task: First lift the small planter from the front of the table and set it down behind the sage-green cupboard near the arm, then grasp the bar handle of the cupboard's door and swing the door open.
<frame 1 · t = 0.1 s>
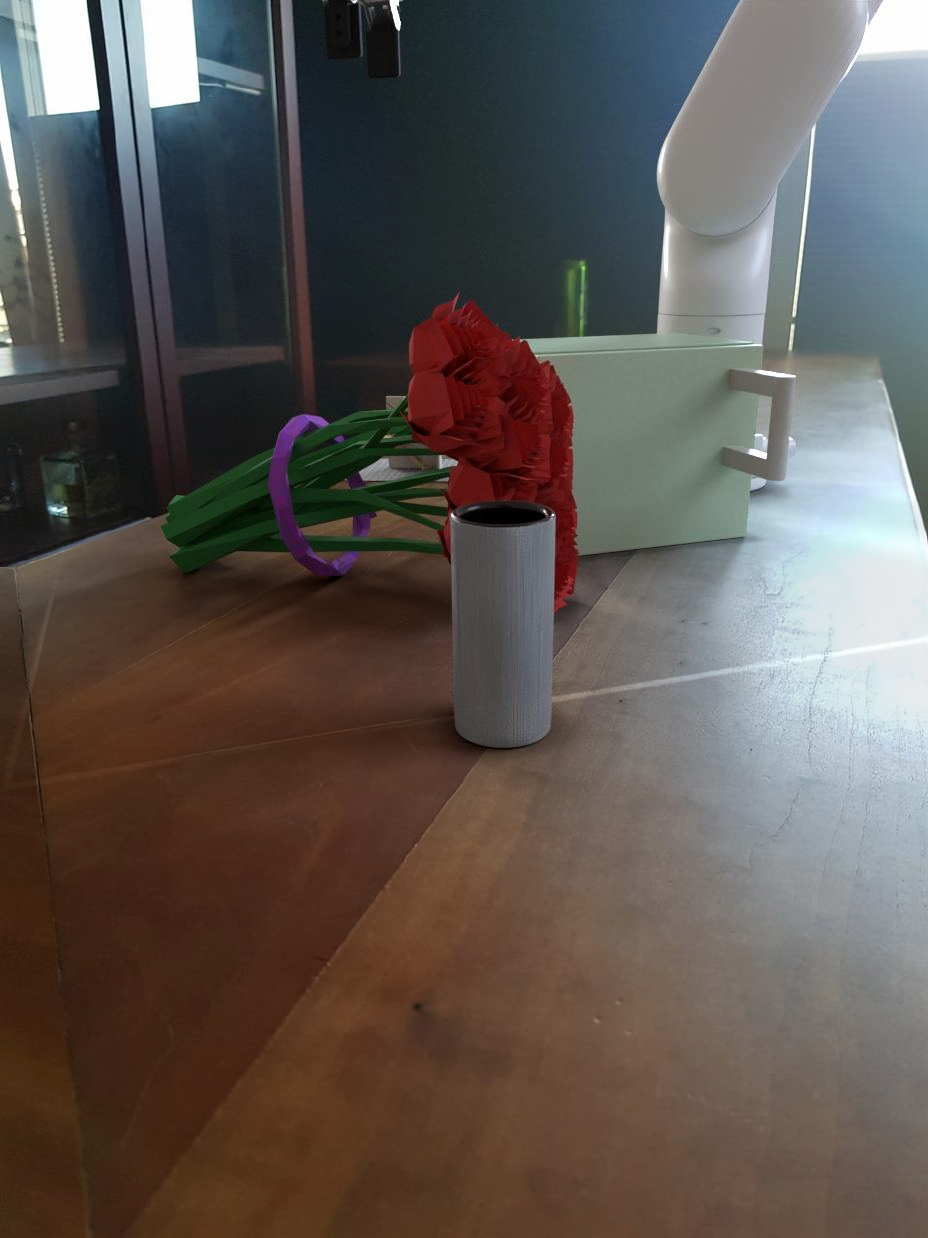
hand: (365, 68, 88), 37 cm above the worktop, tool pointing down, fingers open, 9 cm apart
door: (668, 459, 66), point 7 cm above the worktop, hinge at 0.0°, touching bouquet
architectural model: (414, 471, 100), on the worktop
planter: (502, 730, 44), on the worktop
cupboard: (604, 528, 77), on the worktop
bouquet: (356, 585, 65), on the worktop, touching door
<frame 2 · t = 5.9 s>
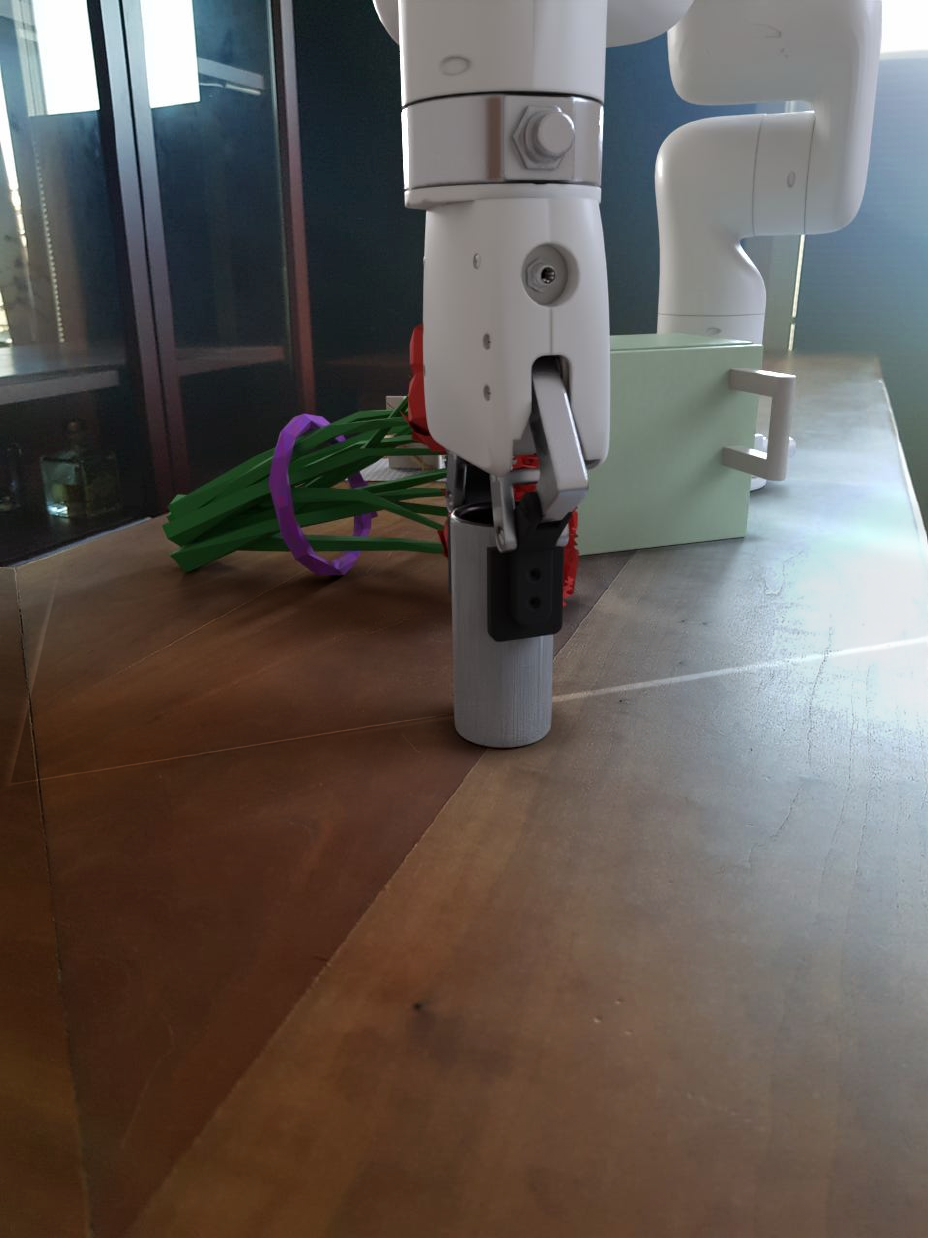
hand: (502, 610, 42), 6 cm above the worktop, tool pointing down, fingers closed on planter, 4 cm apart
door: (668, 459, 66), point 7 cm above the worktop, hinge at 0.0°
planter: (502, 730, 44), on the worktop, touching gripper
bouquet: (357, 585, 65), on the worktop
everything else where it was.
when the fingers open (6 cm above the worktop, at t = 17.9 s): planter stays where it is, on the worktop.
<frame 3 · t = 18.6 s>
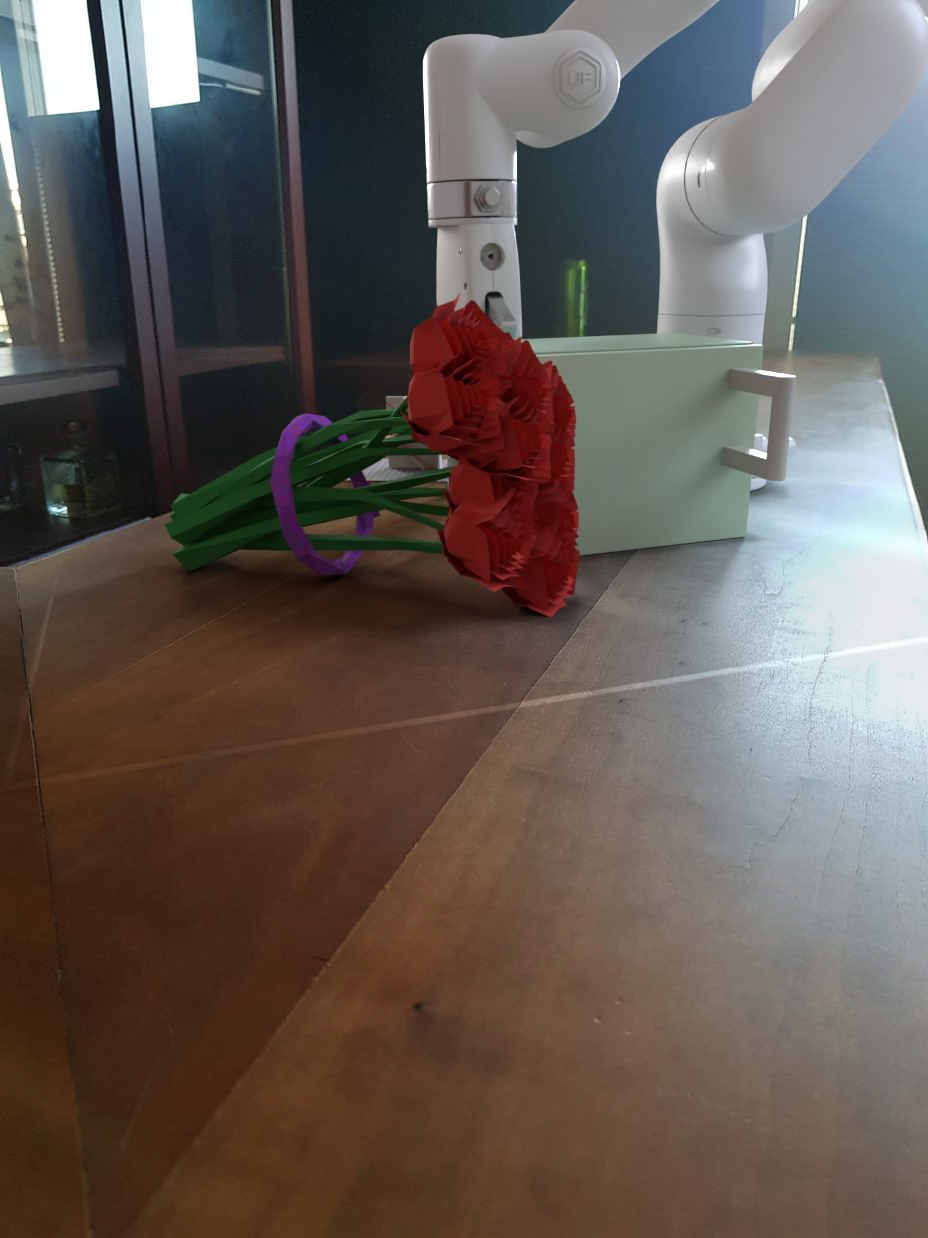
hand: (476, 413, 86), 8 cm above the worktop, tool pointing down, fingers open, 9 cm apart
door: (668, 459, 66), point 7 cm above the worktop, hinge at 0.0°, touching bouquet
planter: (472, 497, 88), on the worktop
bouquet: (358, 584, 65), on the worktop, touching door
everything else where it was.
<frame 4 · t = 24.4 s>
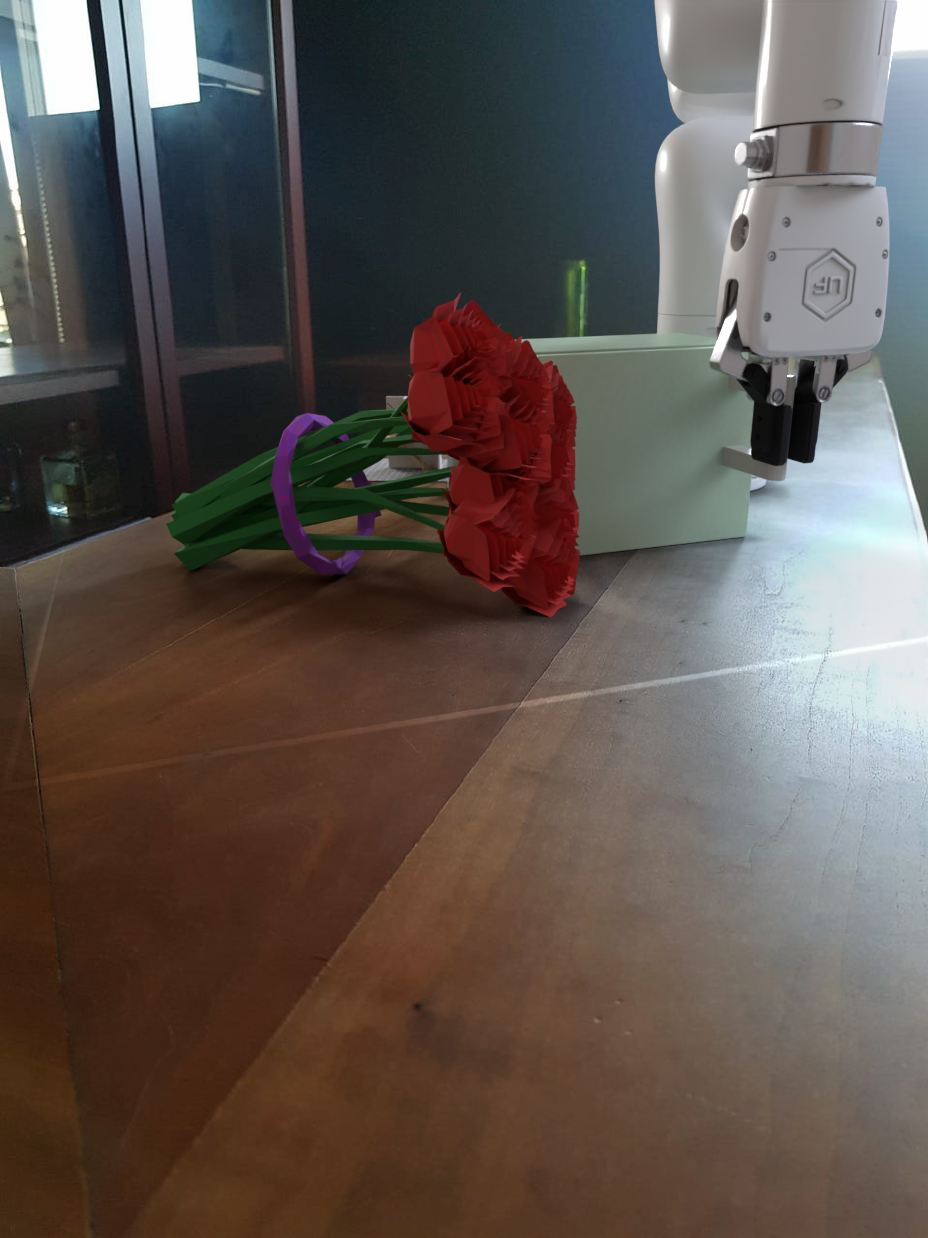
hand: (781, 459, 65), 7 cm above the worktop, tool pointing down, fingers closed
door: (668, 459, 66), point 7 cm above the worktop, hinge at 0.0°, touching bouquet, gripper
everything else where it was.
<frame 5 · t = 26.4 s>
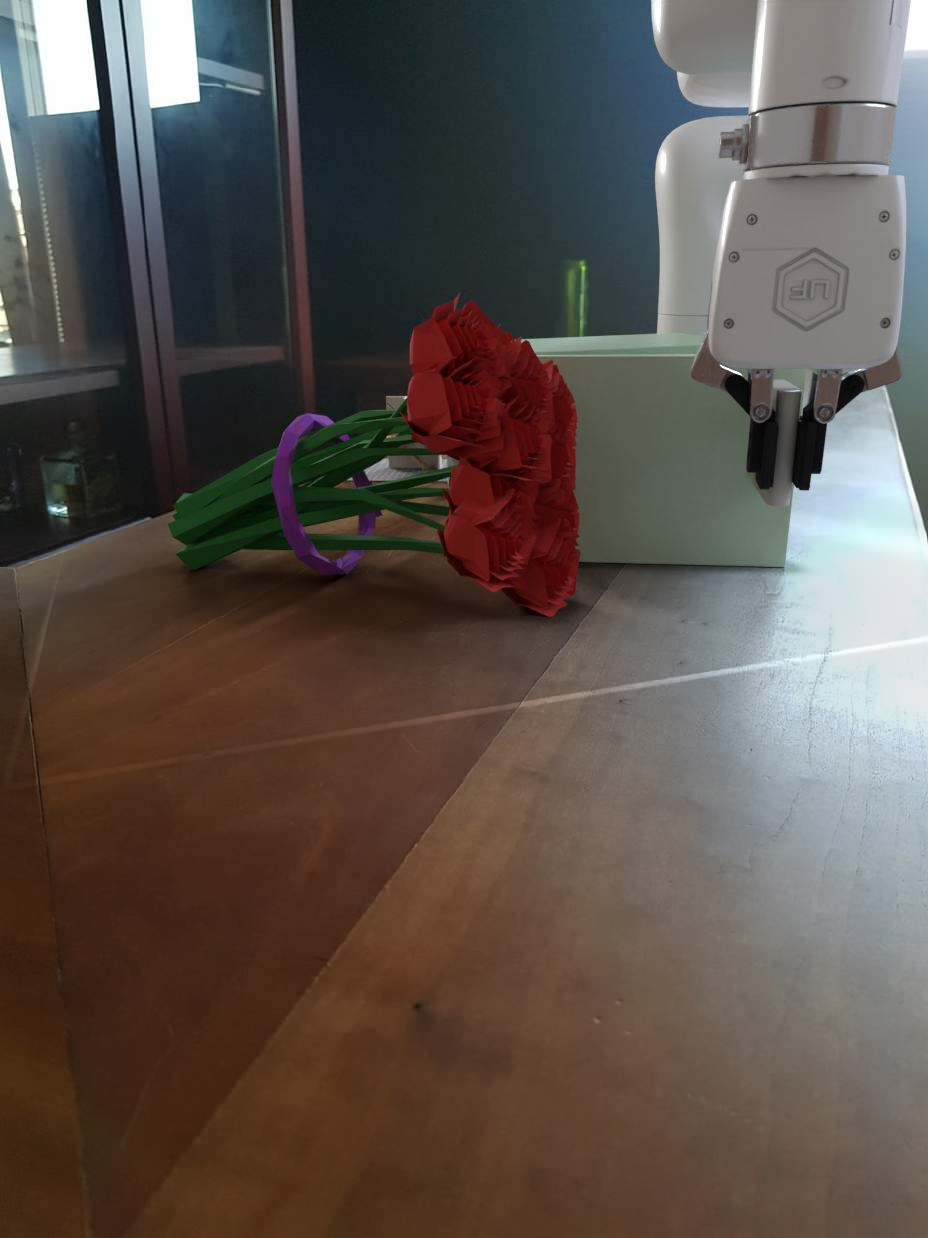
hand: (781, 483, 58), 7 cm above the worktop, tool pointing down, fingers closed
door: (665, 471, 62), point 7 cm above the worktop, hinge at 25.9°, touching bouquet, gripper
everything else where it was.
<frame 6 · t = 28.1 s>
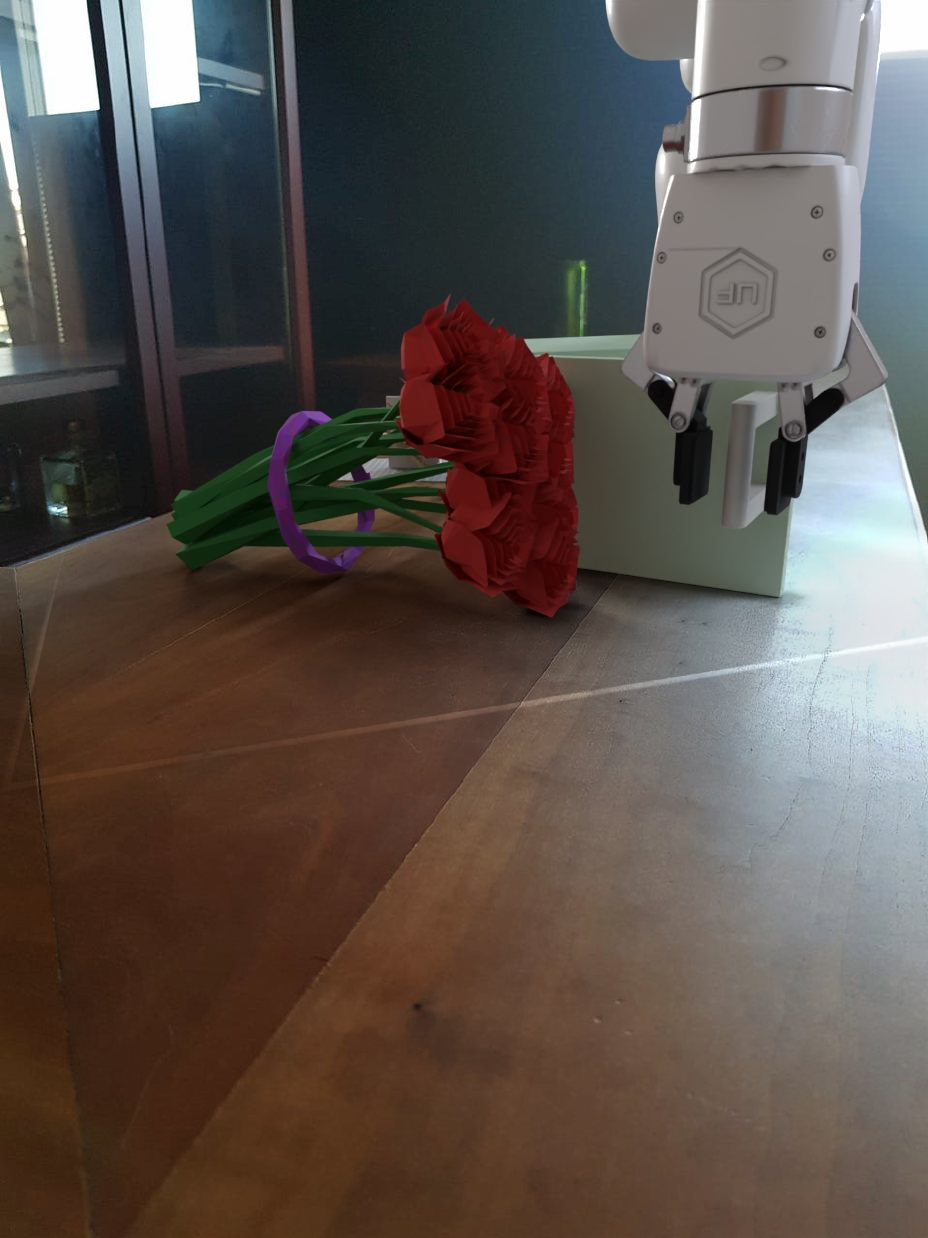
hand: (734, 501, 53), 8 cm above the worktop, tool pointing down, fingers open, 4 cm apart
door: (639, 481, 59), point 7 cm above the worktop, hinge at 47.8°, touching bouquet
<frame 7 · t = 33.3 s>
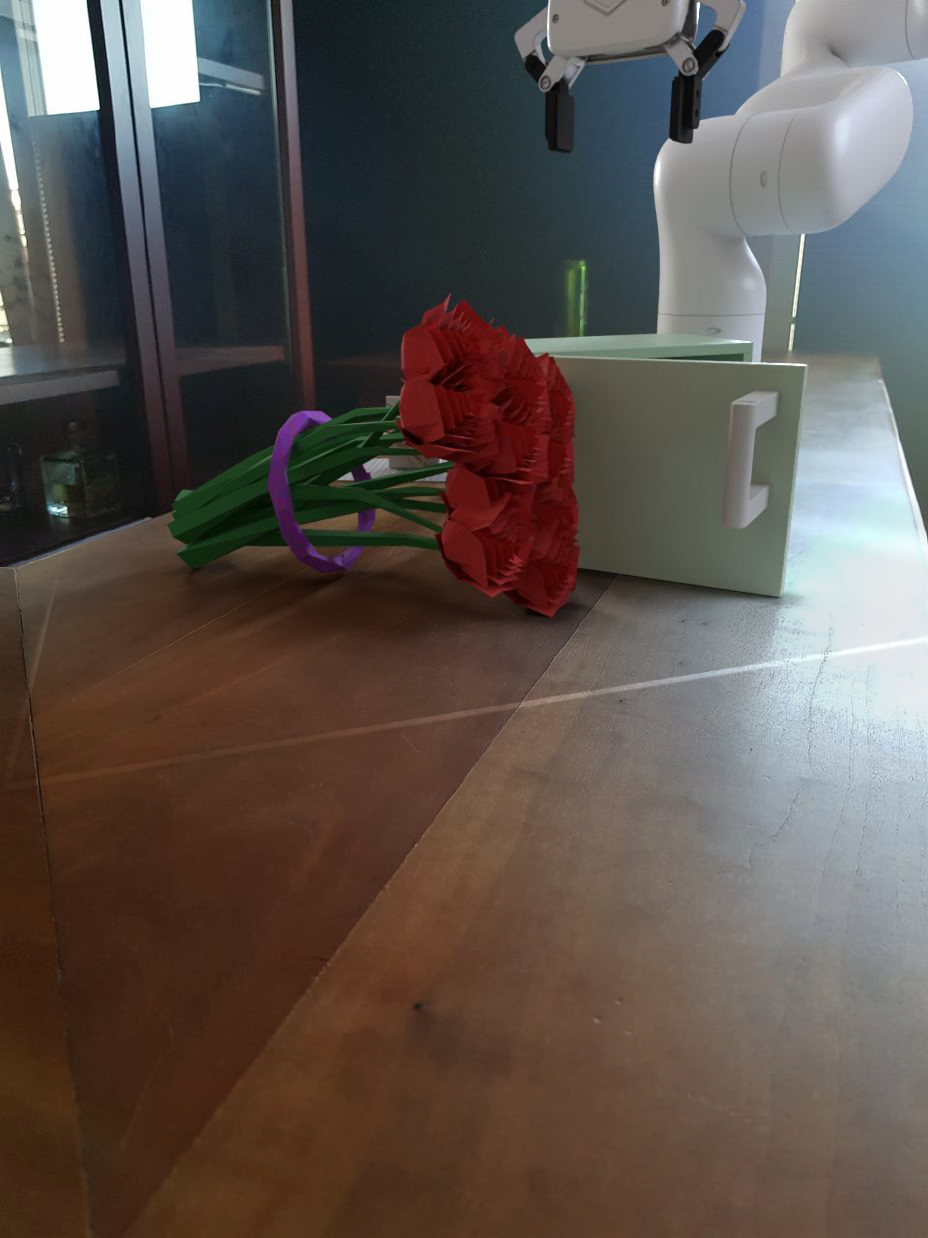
hand: (618, 146, 71), 28 cm above the worktop, tool pointing down, fingers open, 9 cm apart
door: (639, 481, 59), point 7 cm above the worktop, hinge at 47.8°
bouquet: (360, 581, 65), on the worktop
everything else where it was.
at the end: planter inside the target area (0.2 cm from its centre), on the worktop; planter tilted 0°; door at +48° (first picture: +0°) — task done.
